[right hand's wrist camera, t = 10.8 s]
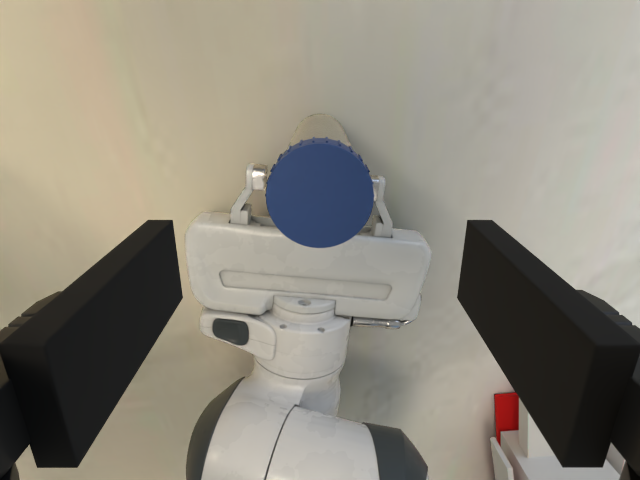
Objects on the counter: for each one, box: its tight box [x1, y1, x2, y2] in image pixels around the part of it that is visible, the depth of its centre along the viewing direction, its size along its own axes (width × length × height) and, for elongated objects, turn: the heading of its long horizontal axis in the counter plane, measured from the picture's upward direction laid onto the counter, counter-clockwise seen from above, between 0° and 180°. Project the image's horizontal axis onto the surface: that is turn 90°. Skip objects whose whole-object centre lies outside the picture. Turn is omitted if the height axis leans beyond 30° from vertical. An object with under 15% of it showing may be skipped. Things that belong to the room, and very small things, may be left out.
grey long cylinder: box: [286, 114, 353, 151], centre depth 30 cm, size 5×5×19 cm
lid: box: [265, 137, 374, 248], centre depth 21 cm, size 5×5×2 cm
